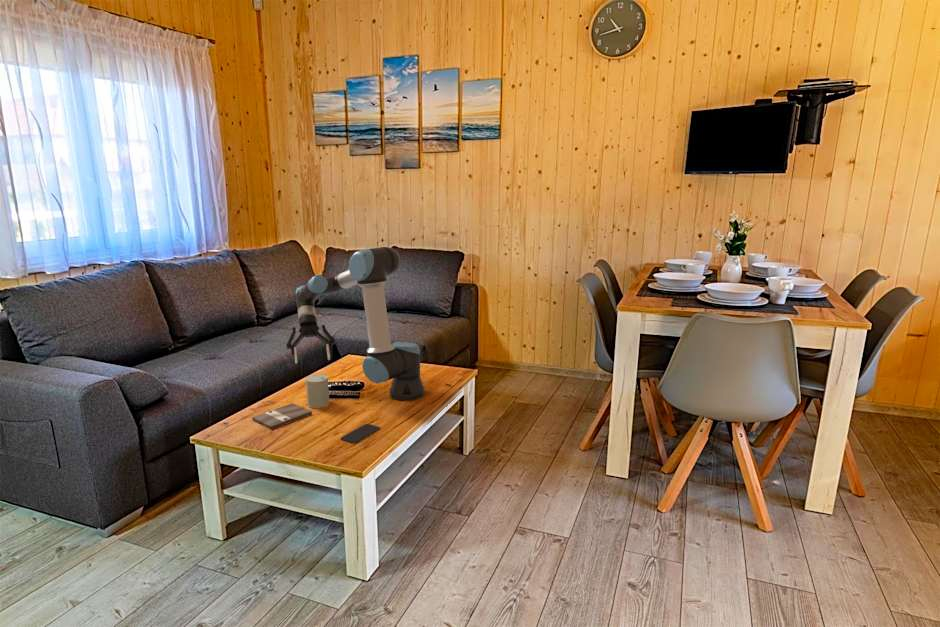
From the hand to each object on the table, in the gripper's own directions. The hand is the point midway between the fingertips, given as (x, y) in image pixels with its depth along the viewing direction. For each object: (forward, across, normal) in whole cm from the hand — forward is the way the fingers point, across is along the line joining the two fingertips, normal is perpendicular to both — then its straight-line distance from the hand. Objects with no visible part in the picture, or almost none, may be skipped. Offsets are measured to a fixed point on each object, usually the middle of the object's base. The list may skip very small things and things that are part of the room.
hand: (312, 360), depth 238 cm
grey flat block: (+25, +14, +3) cm, 29 cm away
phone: (+43, -12, +21) cm, 49 cm away
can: (+19, 0, -3) cm, 19 cm away
